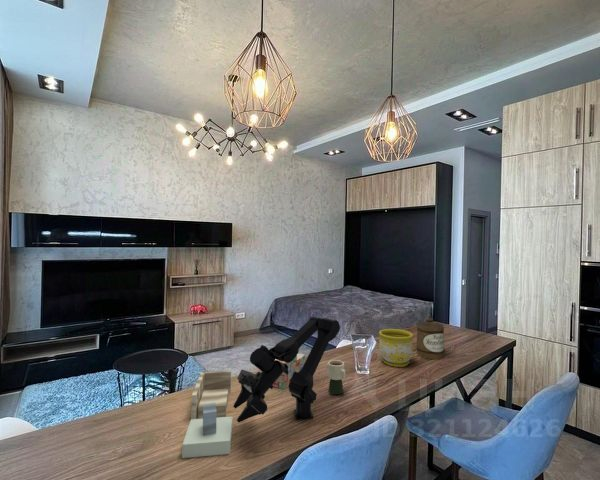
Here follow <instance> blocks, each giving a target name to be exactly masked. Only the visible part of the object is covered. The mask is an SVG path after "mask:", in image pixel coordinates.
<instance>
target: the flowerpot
mask: <svg viewBox="0 0 600 480" xmlns="http://www.w3.org/2000/svg"><path fill="white" fill-rule="evenodd" d="M378 335H379V341H378V342H379V343H378V350H379V353H380V356H381V357H382V358H381V360H382V361H383V363H384V364H385V365H387V366H389V367H393V366H394V367H395V368H404V367H407V366H408V365H409V364H410V359H411V358H412V357H413V356H412V355H413V353H414V352H413V350H414V348H413V347H414V346H413V337H414V335H413V333H412V332H411V331H408V330H405V329H399V328H386V329H381V330H379V332H378Z"/></svg>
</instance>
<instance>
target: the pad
mask: <svg viewBox="0 0 600 480" xmlns="http://www.w3.org/2000/svg"><path fill="white" fill-rule="evenodd" d="M233 420H234V419H233V416H224V417H216V434H211V435H205V436H203V418H196V419H190V422H189V424H188V427H187V431H186V433H185V436H184V439H183V440H182V441H183V442H182V444H181V446H182V447H181V448H182V449H181V459H186V458H187V459H188V458H189V459H190V458H199V457H210V456H219V455H230V454H231V445H232V436H233V429H234V428H233V425H234V424H233V423H234V422H233Z"/></svg>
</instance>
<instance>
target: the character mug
mask: <svg viewBox="0 0 600 480" xmlns="http://www.w3.org/2000/svg"><path fill="white" fill-rule="evenodd" d="M326 370H327V378H329V385H328V392H329V394H332V395H340V394H343V393H344V386H343V379H345V378H346V370H345V362H344V361H342V360H339V359H331V360H329V361H328V362H327V363H326Z"/></svg>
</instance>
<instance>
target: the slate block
mask: <svg viewBox="0 0 600 480" xmlns="http://www.w3.org/2000/svg"><path fill="white" fill-rule="evenodd" d="M216 414H217V411H216V403H208V404H203V418H202V419H203V436H205V435H211V434H216V418H217V417H216Z"/></svg>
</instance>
